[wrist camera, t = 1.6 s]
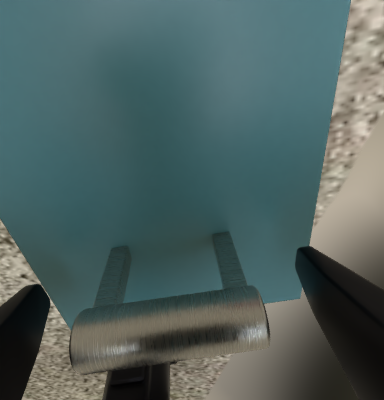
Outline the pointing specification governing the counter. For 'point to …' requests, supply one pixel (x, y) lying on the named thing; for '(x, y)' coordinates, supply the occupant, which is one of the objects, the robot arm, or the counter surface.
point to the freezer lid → (165, 164)
